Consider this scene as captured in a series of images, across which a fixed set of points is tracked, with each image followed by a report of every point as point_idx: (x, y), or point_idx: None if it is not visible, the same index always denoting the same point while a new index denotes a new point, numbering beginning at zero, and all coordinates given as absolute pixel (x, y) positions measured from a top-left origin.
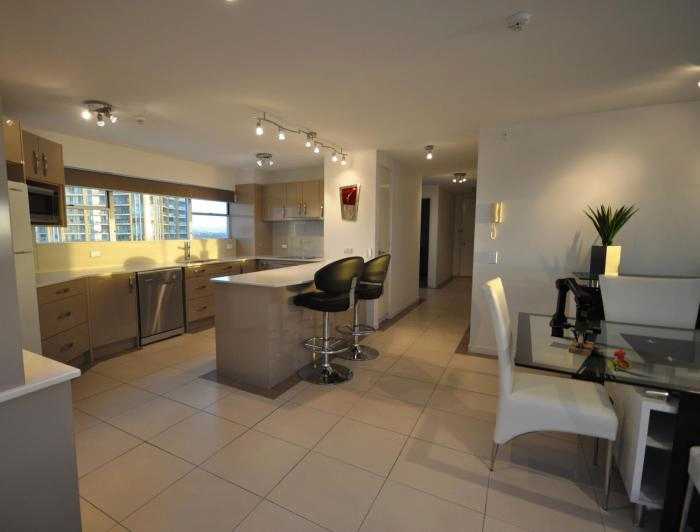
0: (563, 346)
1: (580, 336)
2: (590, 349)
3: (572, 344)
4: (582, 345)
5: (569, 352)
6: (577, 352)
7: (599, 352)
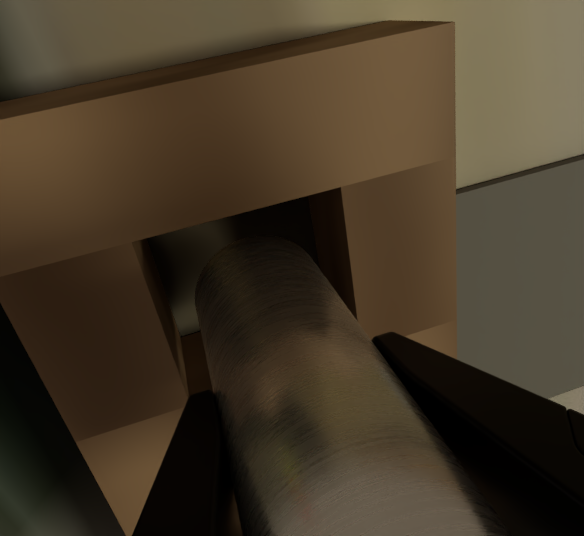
0: (517, 292)
1: (391, 515)
2: (30, 341)
3: (433, 342)
4: (216, 315)
5: (374, 26)
6: (226, 57)
7: (28, 505)
